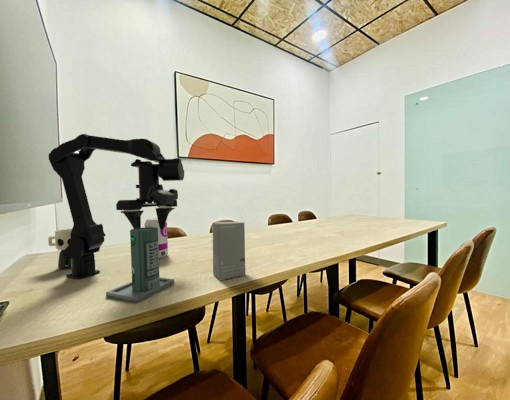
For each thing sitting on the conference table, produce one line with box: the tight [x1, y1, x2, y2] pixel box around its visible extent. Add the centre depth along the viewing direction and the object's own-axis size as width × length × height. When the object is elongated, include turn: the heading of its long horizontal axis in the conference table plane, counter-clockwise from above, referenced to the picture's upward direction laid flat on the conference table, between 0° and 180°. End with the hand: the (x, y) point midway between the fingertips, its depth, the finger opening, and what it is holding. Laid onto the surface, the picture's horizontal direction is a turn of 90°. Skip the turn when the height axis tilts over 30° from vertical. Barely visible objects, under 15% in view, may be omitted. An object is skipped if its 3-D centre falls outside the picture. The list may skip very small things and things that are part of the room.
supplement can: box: [143, 217, 169, 259], centre depth 92 cm, size 8×8×15 cm
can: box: [129, 227, 160, 292], centre depth 59 cm, size 6×6×15 cm
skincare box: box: [211, 221, 246, 281], centre depth 69 cm, size 8×7×16 cm
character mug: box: [48, 228, 72, 269], centre depth 81 cm, size 11×7×13 cm, turn 116°
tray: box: [105, 276, 175, 304], centre depth 59 cm, size 10×12×1 cm
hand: (150, 231), depth 72 cm, fingers open, 9 cm apart
